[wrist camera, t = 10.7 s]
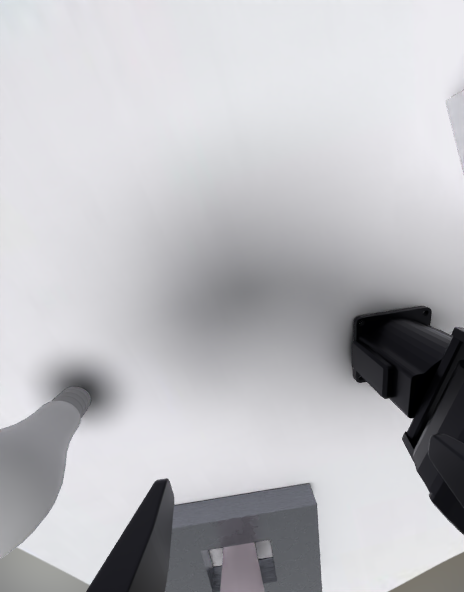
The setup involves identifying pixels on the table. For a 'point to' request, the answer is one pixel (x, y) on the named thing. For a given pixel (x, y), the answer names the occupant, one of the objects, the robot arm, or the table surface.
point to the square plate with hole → (248, 539)
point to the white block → (457, 122)
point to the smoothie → (241, 569)
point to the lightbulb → (36, 464)
